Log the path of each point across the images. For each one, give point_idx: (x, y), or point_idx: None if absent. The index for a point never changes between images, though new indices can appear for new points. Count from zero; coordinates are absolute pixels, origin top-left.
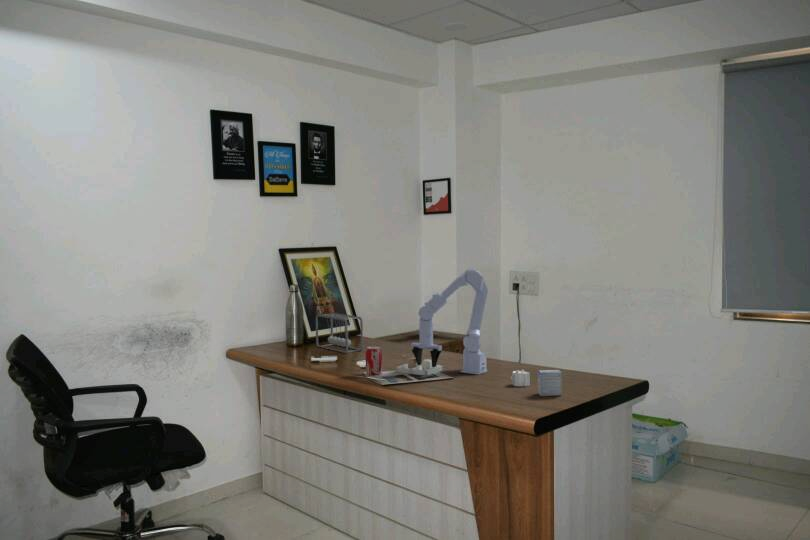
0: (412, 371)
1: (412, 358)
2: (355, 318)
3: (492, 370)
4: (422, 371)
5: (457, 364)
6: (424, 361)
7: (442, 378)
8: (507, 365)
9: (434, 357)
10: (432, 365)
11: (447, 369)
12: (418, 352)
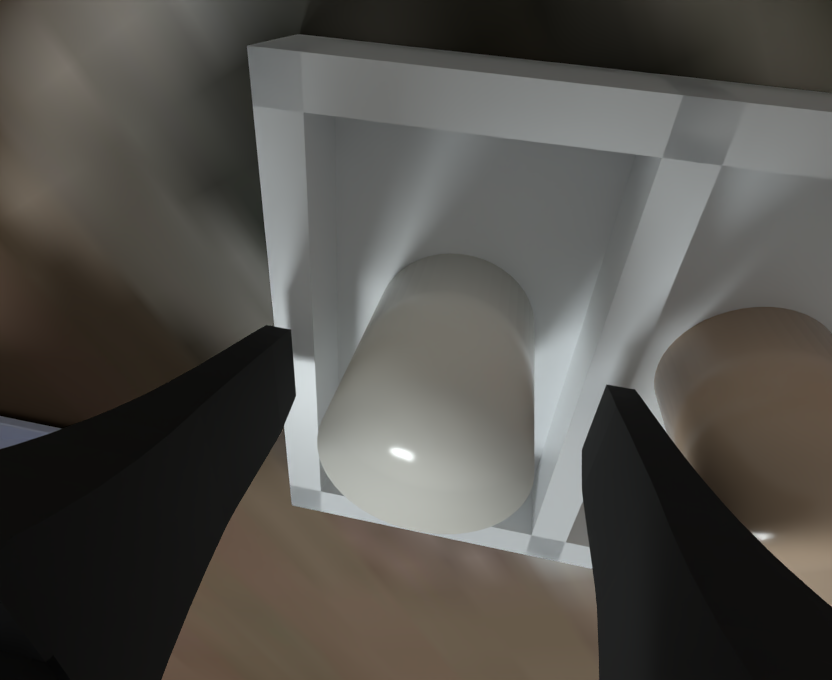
0: (651, 83)
1: (829, 560)
2: None
3: None
4: (363, 55)
5: (379, 670)
6: (411, 373)
7: (35, 68)
8: None
9: (79, 425)
10: (266, 336)
11: (343, 532)
12: (662, 674)
